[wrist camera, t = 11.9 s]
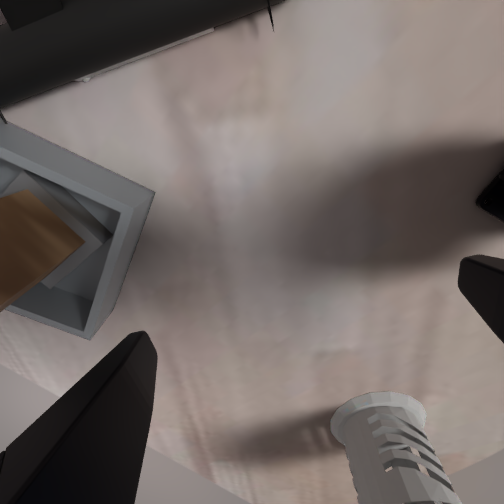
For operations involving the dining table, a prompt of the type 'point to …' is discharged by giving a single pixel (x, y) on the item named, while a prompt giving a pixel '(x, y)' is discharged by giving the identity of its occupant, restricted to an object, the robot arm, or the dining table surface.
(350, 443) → the french press
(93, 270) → the tray
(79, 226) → the wooden post on base
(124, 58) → the door handle
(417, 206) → the dining table surface
